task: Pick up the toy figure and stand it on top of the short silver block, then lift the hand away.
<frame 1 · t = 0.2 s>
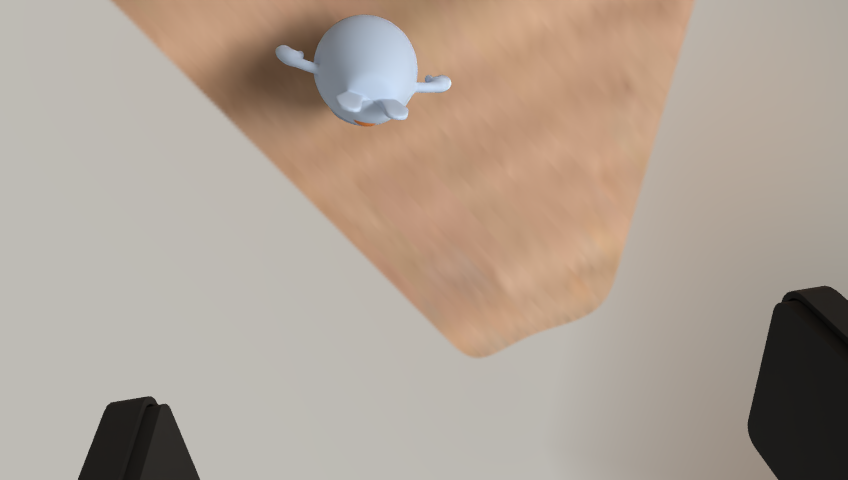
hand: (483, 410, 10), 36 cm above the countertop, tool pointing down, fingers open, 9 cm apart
toy figure: (361, 47, 43), on the countertop
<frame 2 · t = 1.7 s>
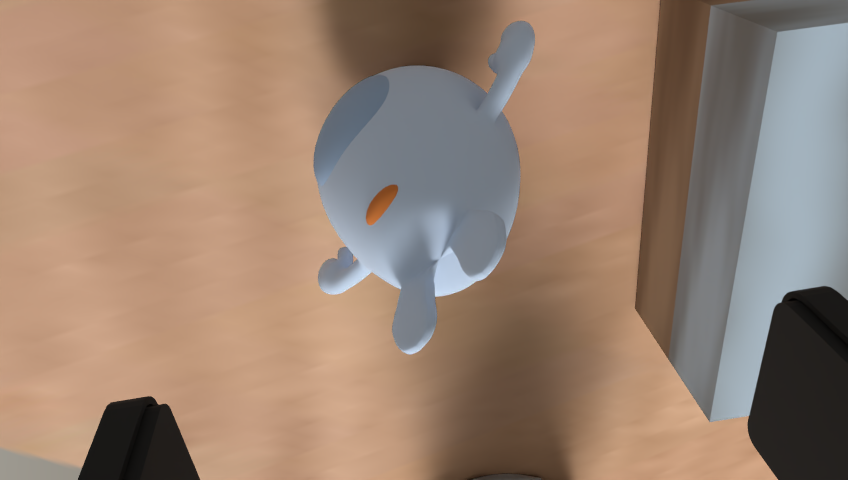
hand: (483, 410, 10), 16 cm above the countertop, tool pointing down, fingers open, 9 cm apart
toy figure: (402, 115, 24), on the countertop
silver block: (766, 152, 27), on the countertop
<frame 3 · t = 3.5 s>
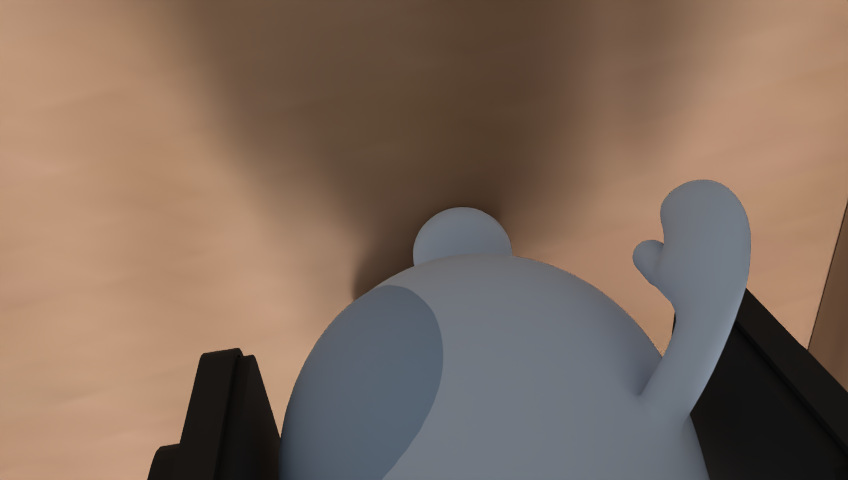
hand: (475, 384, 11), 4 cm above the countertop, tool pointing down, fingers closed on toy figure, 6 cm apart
toy figure: (432, 276, 14), on the countertop, touching gripper
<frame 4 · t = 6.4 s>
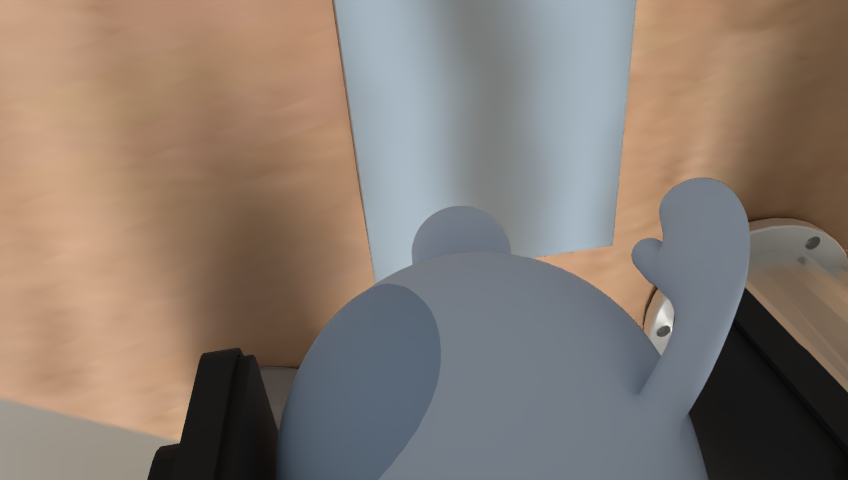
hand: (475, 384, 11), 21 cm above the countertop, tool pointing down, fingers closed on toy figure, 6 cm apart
toy figure: (431, 275, 14), point 17 cm above the countertop, touching gripper
silver block: (453, 45, 29), on the countertop
coffeepot: (278, 429, 40), on the countertop
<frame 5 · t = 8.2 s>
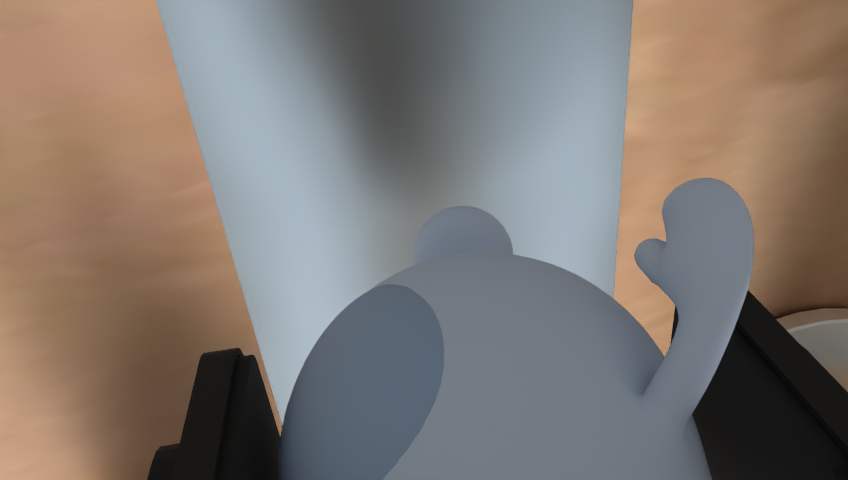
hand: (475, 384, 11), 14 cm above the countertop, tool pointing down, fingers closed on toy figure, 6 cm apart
toy figure: (432, 275, 14), point 9 cm above the countertop, touching gripper
silver block: (399, 109, 22), on the countertop
when the fingers open (12 cm above the countertop, at t = 9.4 s): toy figure drops 1 cm, resting on silver block.
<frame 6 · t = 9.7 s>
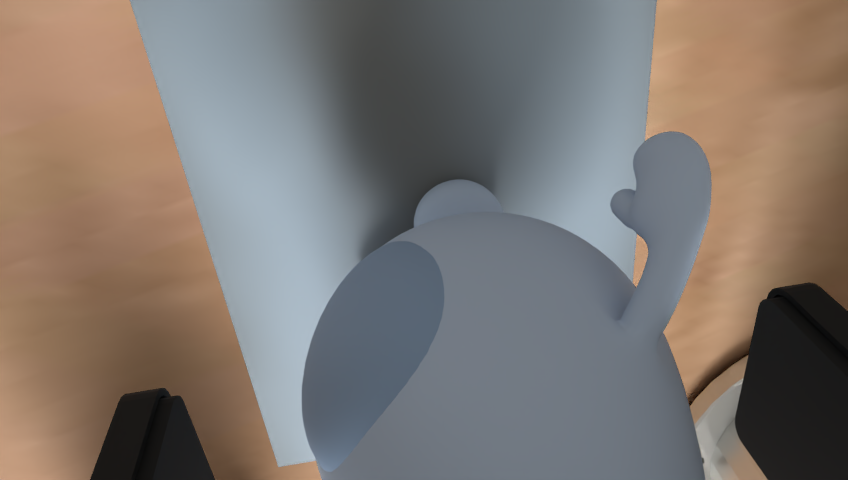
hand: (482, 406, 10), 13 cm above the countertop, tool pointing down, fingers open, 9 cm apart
toy figure: (432, 247, 16), point 7 cm above the countertop, touching silver block
silver block: (400, 120, 21), on the countertop
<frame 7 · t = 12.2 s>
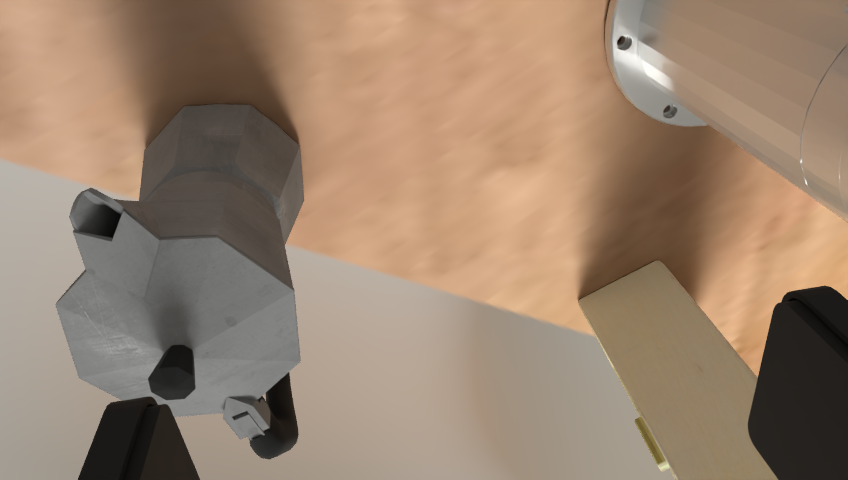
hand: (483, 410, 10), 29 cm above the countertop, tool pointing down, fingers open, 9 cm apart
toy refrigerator: (627, 314, 49), on the countertop
coffeepot: (237, 187, 39), on the countertop
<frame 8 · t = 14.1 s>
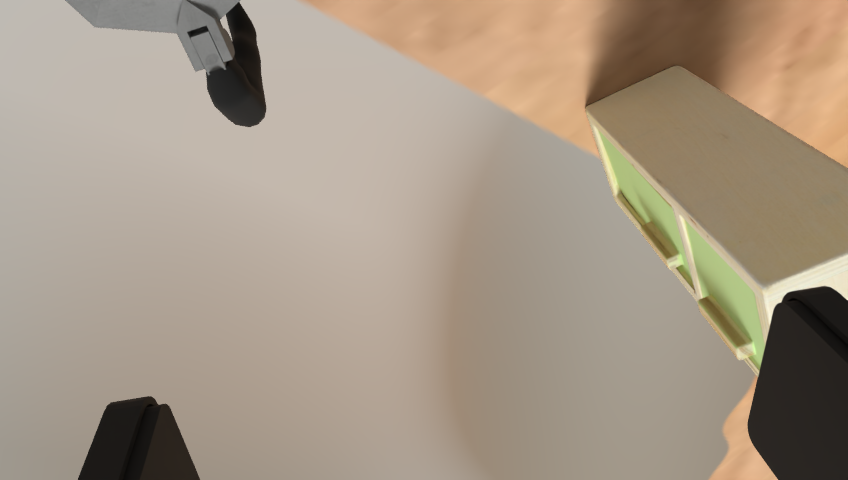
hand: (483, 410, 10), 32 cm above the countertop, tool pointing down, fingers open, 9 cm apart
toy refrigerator: (636, 135, 45), on the countertop
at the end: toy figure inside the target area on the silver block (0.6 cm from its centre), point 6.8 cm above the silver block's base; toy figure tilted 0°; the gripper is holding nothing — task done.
